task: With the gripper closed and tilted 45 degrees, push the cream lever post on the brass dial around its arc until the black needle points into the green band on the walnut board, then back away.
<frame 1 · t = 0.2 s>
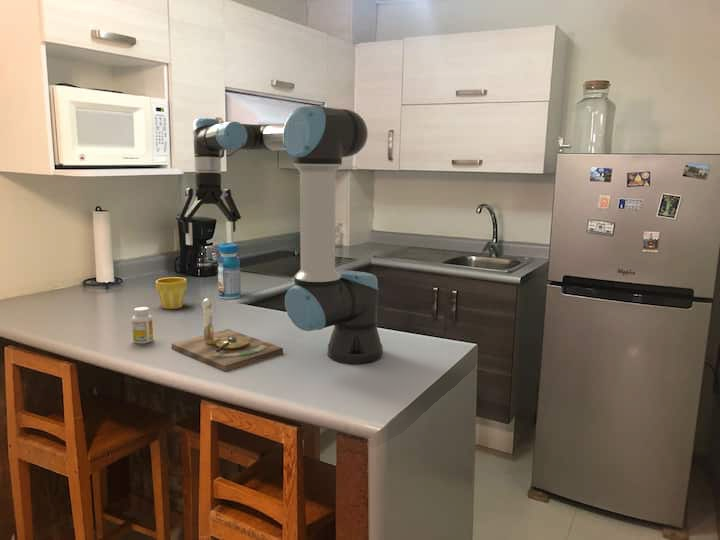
hand: (210, 243, 175), 27 cm above the worktop, tool pointing down, fingers open, 13 cm apart
gauge board: (226, 350, 161), on the worktop
beverage bottle: (229, 297, 221), on the worktop
plant pot: (172, 307, 206), on the worktop
dial: (222, 322, 159), point 8 cm above the worktop, hinge at 0.0°
supplement bottle: (143, 341, 168), on the worktop
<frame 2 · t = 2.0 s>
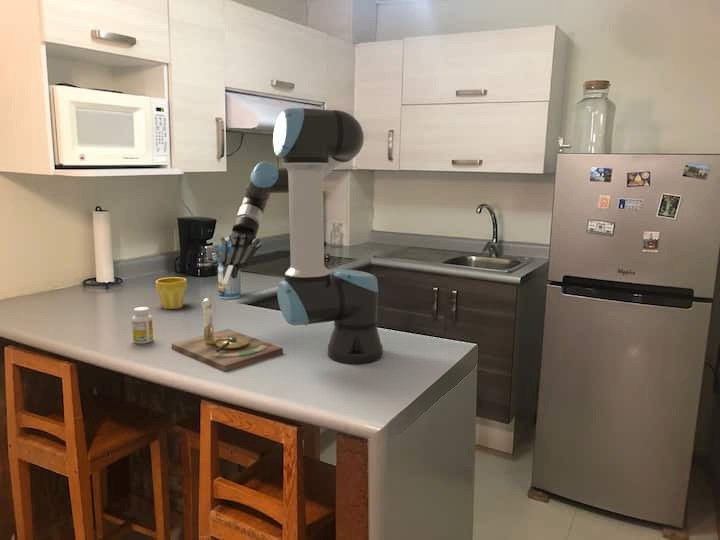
hand: (226, 286, 169), 16 cm above the worktop, tool tilted 45°, fingers closed
nothing on the worktop moved.
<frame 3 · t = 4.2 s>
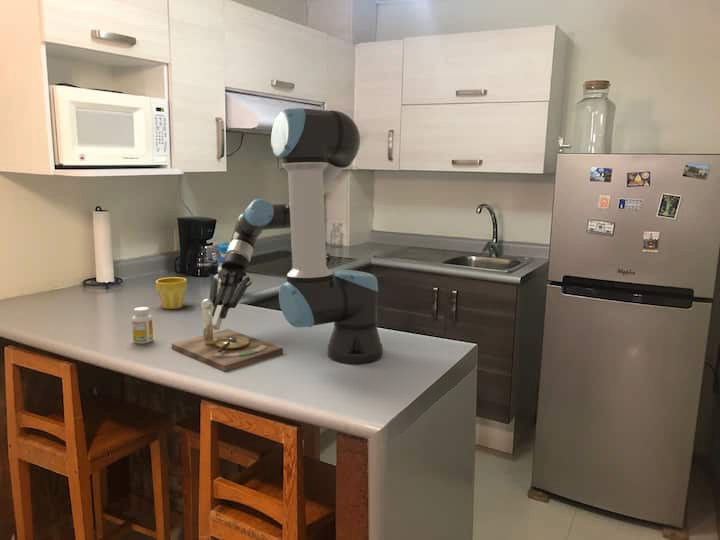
hand: (214, 327, 164), 5 cm above the worktop, tool tilted 45°, fingers closed
dial: (223, 323, 159), point 8 cm above the worktop, hinge at 3.3°, touching gripper
everything else where it was.
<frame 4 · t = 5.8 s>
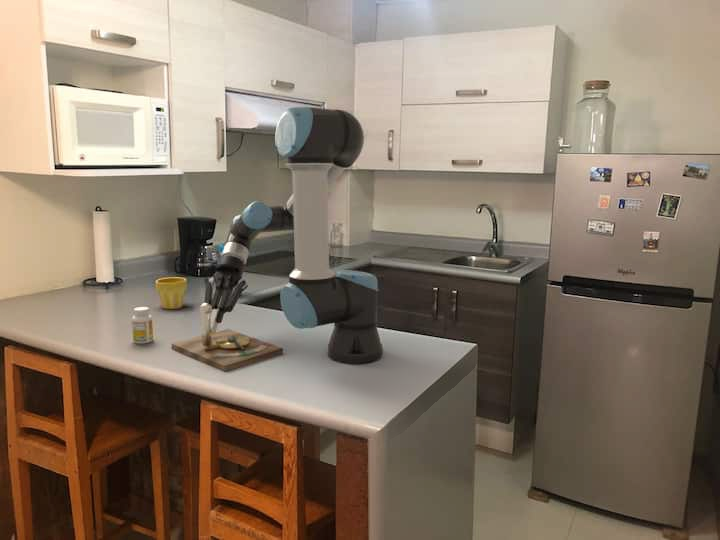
hand: (210, 332, 160), 5 cm above the worktop, tool tilted 45°, fingers closed
dial: (225, 324, 158), point 8 cm above the worktop, hinge at 42.0°, touching gripper
everything else where it was.
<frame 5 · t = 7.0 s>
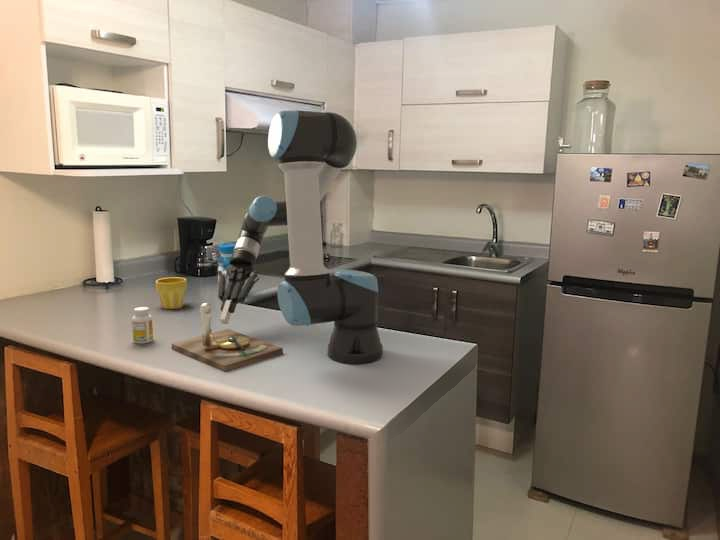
hand: (223, 321, 168), 6 cm above the worktop, tool tilted 45°, fingers closed
dial: (225, 324, 158), point 8 cm above the worktop, hinge at 42.0°
everything else where it was.
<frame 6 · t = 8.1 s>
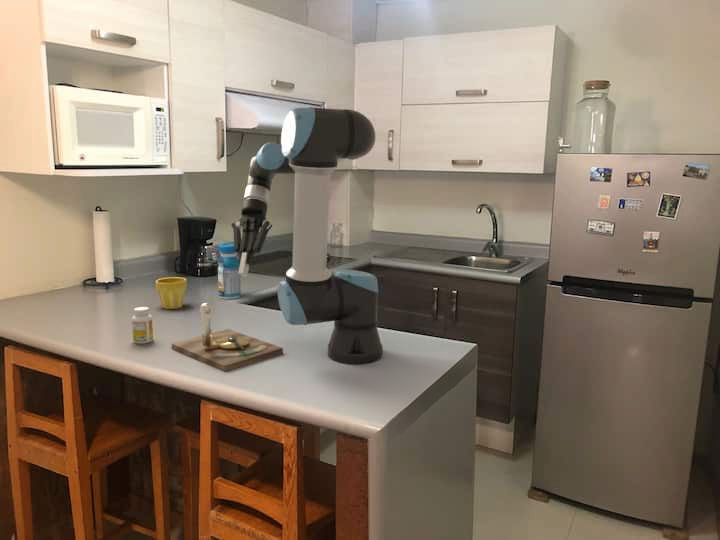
hand: (242, 274, 170), 19 cm above the worktop, tool tilted 35°, fingers closed
nothing on the worktop moved.
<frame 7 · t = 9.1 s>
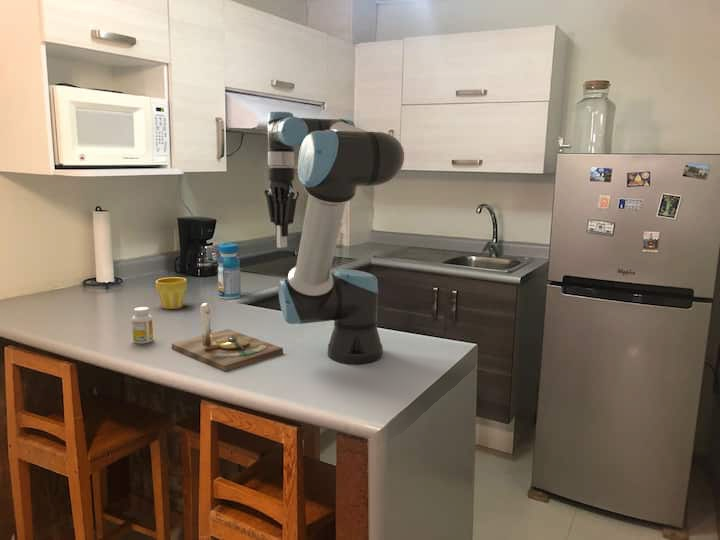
hand: (282, 246, 174), 26 cm above the worktop, tool pointing down, fingers closed
nothing on the worktop moved.
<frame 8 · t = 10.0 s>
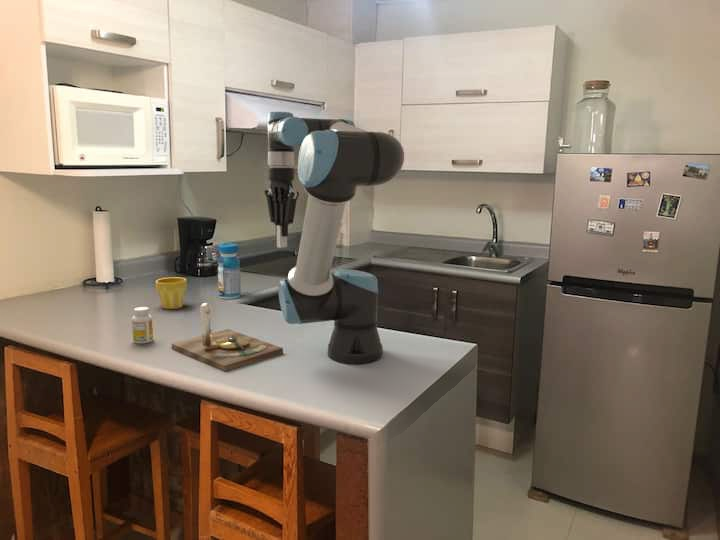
hand: (282, 246, 174), 26 cm above the worktop, tool pointing down, fingers closed
nothing on the worktop moved.
at the end: dial at +42° (first picture: +0°); the gripper is holding nothing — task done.
